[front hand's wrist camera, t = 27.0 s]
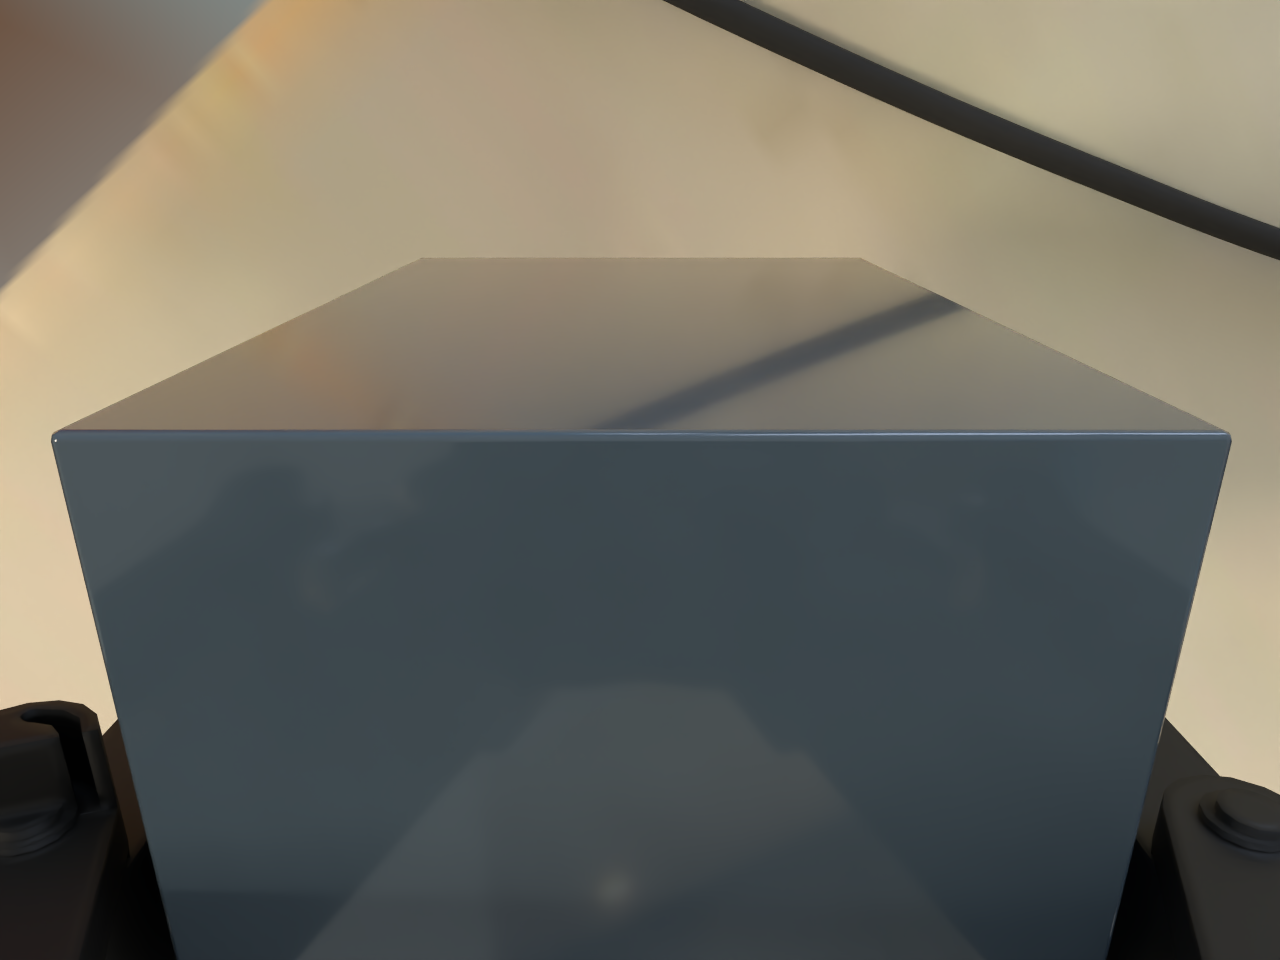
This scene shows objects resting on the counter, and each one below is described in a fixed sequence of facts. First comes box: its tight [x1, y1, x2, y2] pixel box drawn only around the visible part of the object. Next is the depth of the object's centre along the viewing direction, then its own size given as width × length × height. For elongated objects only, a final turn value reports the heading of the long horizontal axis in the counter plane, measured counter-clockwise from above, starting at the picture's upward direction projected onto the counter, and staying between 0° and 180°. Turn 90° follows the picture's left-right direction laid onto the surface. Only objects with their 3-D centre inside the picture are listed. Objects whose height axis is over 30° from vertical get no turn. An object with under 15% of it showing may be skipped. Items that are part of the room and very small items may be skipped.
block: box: [51, 258, 1232, 960], centre depth 11 cm, size 7×9×9 cm
